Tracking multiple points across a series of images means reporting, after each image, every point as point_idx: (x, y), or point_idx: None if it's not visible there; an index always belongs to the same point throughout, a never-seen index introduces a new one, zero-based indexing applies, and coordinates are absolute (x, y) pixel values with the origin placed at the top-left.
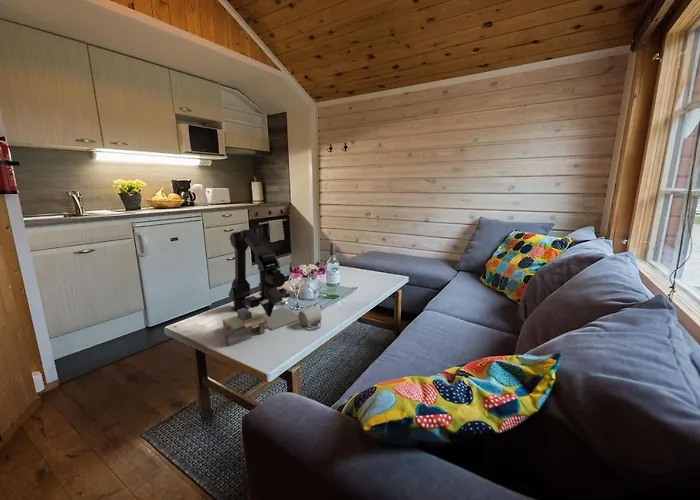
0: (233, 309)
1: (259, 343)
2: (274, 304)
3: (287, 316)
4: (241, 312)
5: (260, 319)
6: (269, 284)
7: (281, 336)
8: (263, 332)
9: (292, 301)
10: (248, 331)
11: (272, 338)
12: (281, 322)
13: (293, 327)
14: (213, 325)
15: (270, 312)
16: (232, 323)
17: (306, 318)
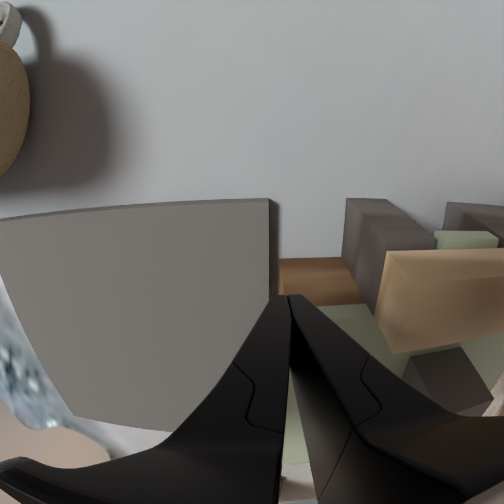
0: (280, 489)
1: (456, 84)
2: (174, 443)
3: (66, 318)
4: None
5: (446, 271)
6: None
7: (267, 35)
8: (360, 201)
9: (30, 415)
10: (500, 225)
11: (350, 63)
12: (134, 264)
13: (88, 128)
14: None
15: (284, 327)
16: (493, 370)
17: None
